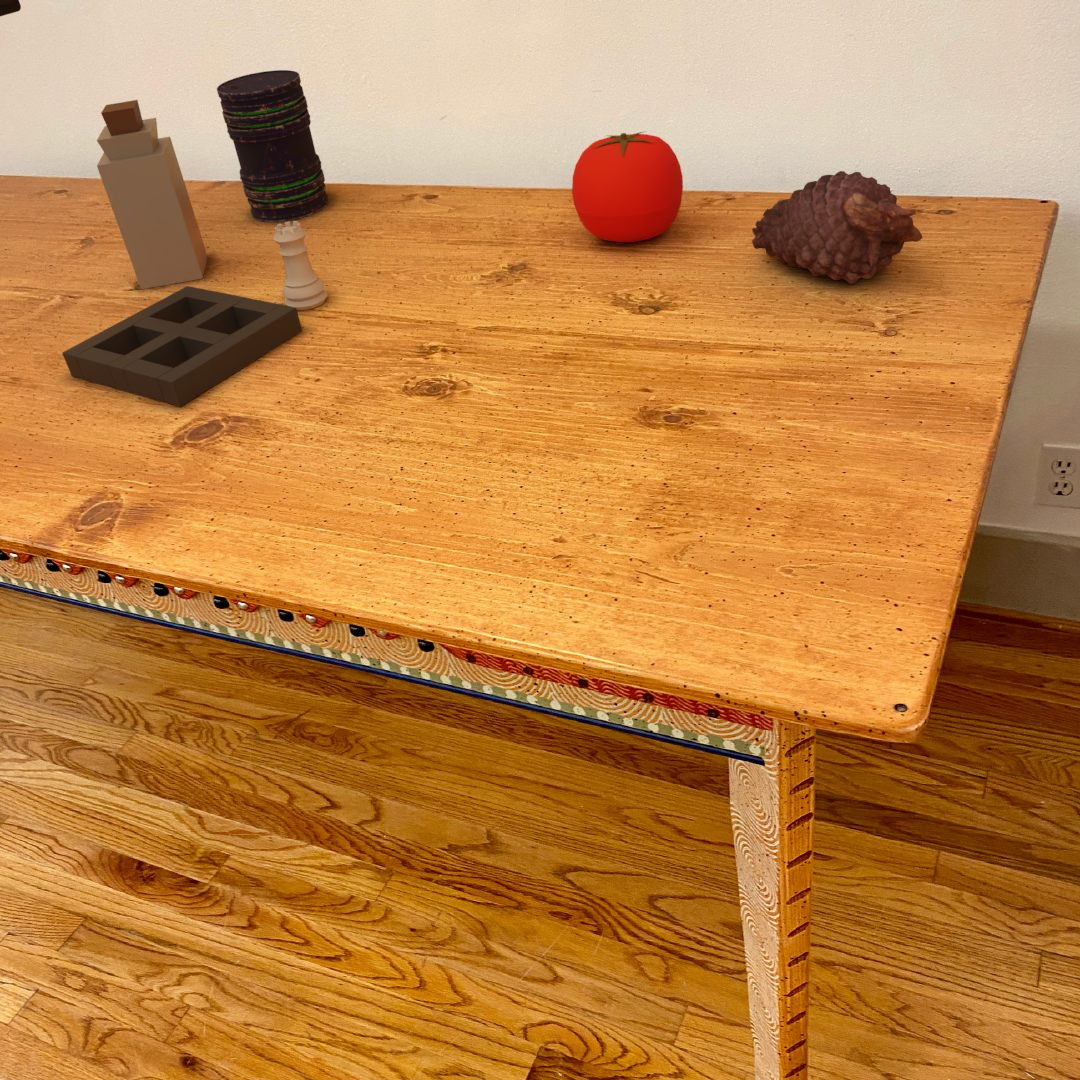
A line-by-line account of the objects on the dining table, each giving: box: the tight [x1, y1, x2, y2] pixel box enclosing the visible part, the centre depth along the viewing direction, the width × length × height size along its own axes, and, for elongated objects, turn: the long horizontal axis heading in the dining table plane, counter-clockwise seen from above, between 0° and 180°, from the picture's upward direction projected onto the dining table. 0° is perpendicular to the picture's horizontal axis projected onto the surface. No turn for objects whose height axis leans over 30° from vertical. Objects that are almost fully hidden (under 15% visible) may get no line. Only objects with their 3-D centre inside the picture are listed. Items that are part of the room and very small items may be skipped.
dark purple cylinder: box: [216, 69, 330, 223], centre depth 131 cm, size 10×10×15 cm
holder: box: [61, 285, 303, 407], centre depth 103 cm, size 16×16×2 cm
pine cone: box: [751, 170, 924, 285], centre depth 99 cm, size 18×10×10 cm
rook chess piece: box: [272, 220, 328, 311], centre depth 108 cm, size 4×4×8 cm
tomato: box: [571, 130, 684, 243], centre depth 111 cm, size 11×12×10 cm
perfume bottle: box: [96, 99, 208, 290], centre depth 116 cm, size 7×7×18 cm
